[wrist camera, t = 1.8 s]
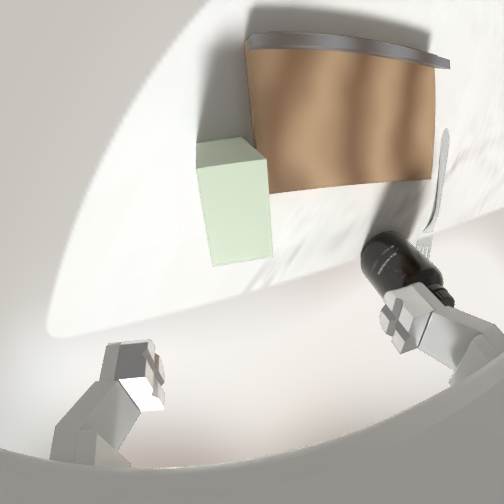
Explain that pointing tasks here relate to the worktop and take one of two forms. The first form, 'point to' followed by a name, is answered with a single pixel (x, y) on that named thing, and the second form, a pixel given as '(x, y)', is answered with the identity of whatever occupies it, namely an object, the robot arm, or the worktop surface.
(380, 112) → the shelf board
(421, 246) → the fork
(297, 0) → the worktop surface
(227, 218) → the carton
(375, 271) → the supplement bottle
